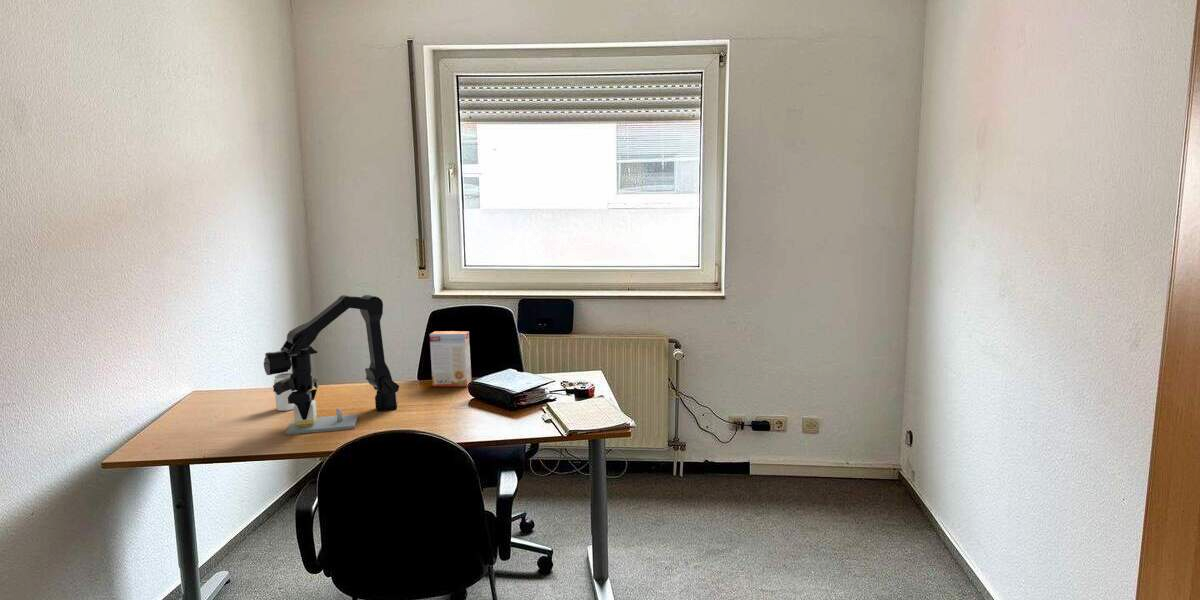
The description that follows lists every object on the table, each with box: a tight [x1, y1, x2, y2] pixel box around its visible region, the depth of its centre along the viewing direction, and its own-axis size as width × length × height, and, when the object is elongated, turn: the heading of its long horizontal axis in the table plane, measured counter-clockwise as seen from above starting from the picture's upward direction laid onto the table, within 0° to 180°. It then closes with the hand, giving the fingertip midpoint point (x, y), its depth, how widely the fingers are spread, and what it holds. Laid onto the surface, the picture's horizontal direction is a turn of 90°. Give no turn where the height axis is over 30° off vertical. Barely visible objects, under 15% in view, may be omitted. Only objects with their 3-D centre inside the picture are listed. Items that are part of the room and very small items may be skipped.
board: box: [285, 407, 359, 436], centre depth 215 cm, size 20×12×5 cm, turn 105°
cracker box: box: [429, 330, 472, 388], centre depth 258 cm, size 14×6×21 cm, turn 83°
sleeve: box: [293, 399, 318, 425], centre depth 213 cm, size 6×6×6 cm
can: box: [273, 372, 297, 412], centre depth 232 cm, size 6×6×12 cm
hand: (306, 416), depth 213 cm, fingers closed on sleeve, 6 cm apart
